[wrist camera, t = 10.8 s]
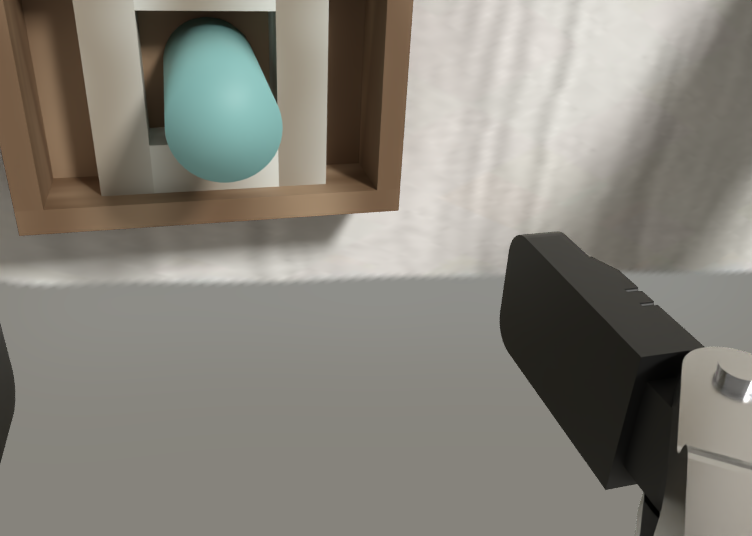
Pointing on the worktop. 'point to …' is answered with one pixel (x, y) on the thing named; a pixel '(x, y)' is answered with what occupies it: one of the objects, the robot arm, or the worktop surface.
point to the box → (146, 111)
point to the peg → (218, 103)
